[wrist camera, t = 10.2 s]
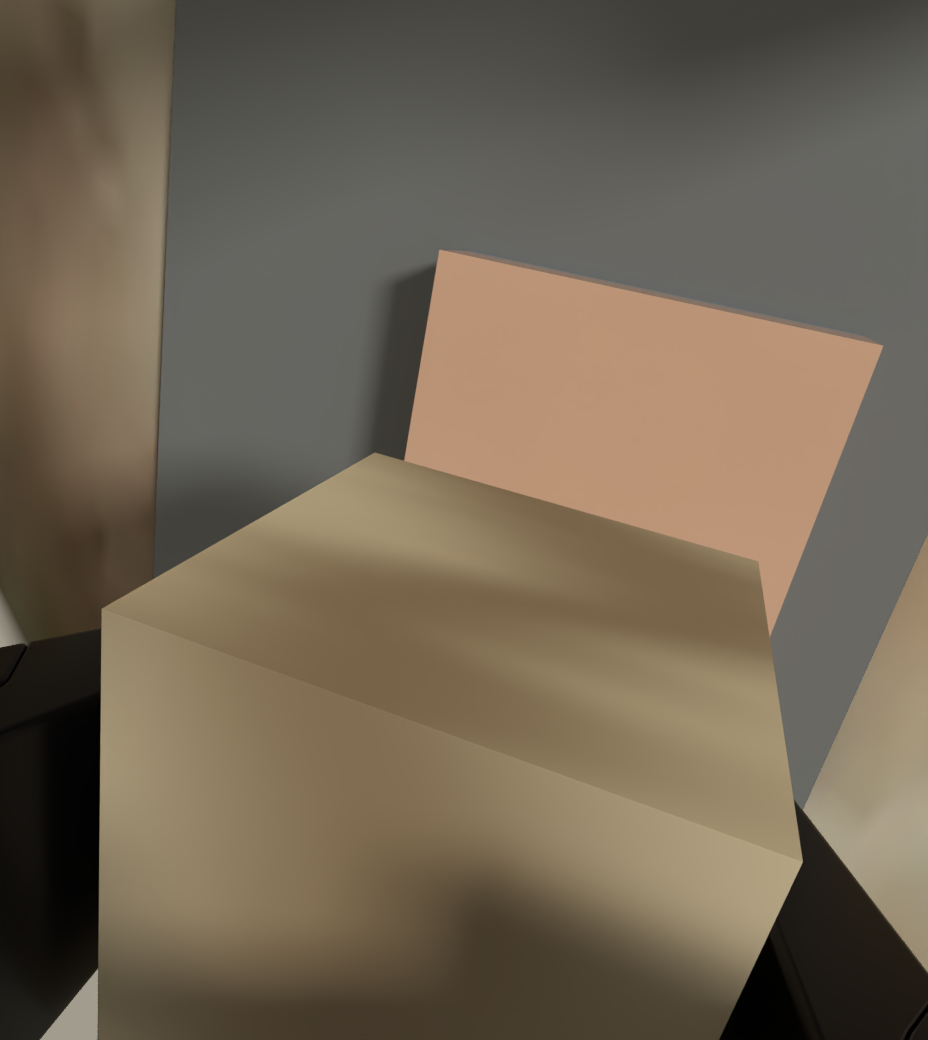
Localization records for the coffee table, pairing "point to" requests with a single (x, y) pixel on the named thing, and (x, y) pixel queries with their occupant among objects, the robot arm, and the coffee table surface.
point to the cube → (438, 776)
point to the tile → (637, 406)
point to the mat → (545, 242)
